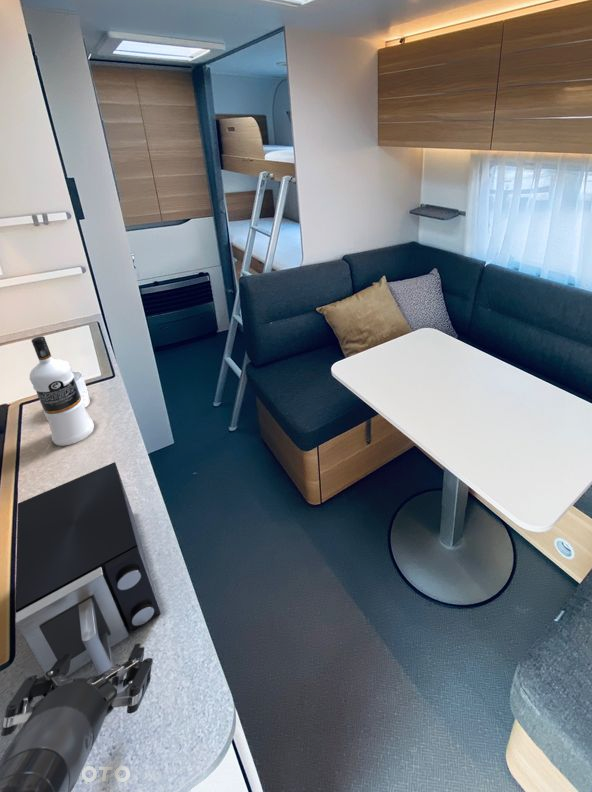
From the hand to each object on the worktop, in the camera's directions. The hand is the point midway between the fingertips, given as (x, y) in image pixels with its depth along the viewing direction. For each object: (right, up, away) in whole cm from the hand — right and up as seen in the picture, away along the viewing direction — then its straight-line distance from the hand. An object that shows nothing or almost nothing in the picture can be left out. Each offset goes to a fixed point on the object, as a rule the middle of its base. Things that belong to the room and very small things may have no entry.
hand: (103, 656), depth 57 cm
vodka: (-43, +12, +54) cm, 70 cm away
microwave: (-11, -3, +17) cm, 20 cm away
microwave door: (-5, -7, +5) cm, 10 cm away
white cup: (-51, +16, +65) cm, 84 cm away
